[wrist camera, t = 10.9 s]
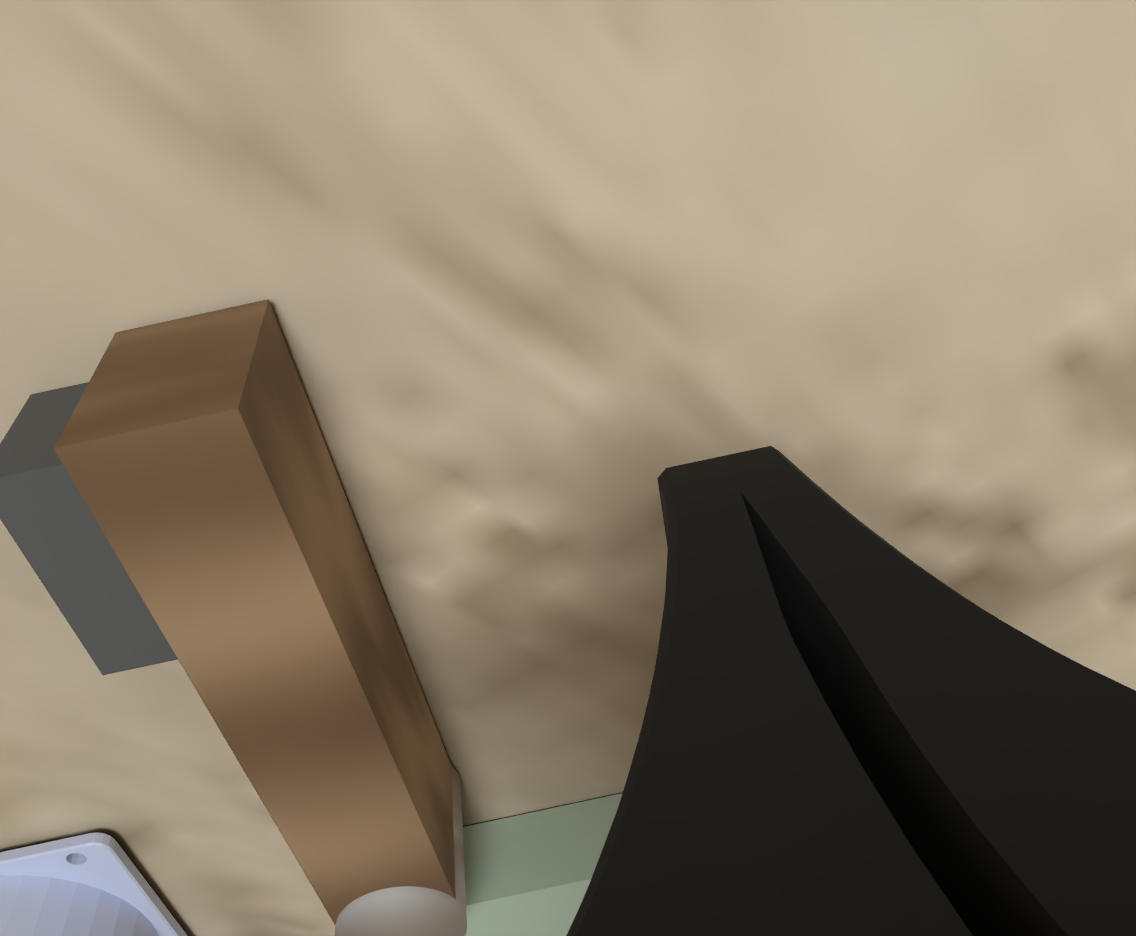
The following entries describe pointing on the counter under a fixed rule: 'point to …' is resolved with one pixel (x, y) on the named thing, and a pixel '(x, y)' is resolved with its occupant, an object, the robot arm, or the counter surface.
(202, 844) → the counter surface
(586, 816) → the stool seat
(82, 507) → the leg stop
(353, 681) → the folding leg
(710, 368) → the counter surface
